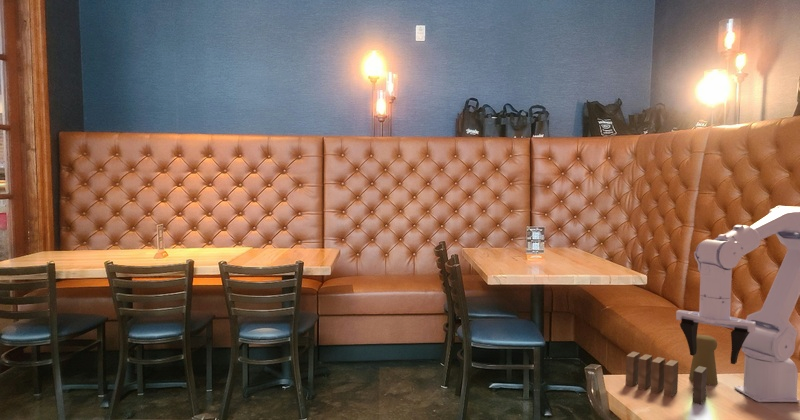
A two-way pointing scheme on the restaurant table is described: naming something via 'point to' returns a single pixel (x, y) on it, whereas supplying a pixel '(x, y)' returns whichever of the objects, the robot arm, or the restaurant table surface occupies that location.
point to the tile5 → (632, 368)
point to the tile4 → (644, 372)
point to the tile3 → (657, 374)
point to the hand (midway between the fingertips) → (712, 358)
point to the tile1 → (699, 385)
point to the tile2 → (671, 378)
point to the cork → (705, 358)
